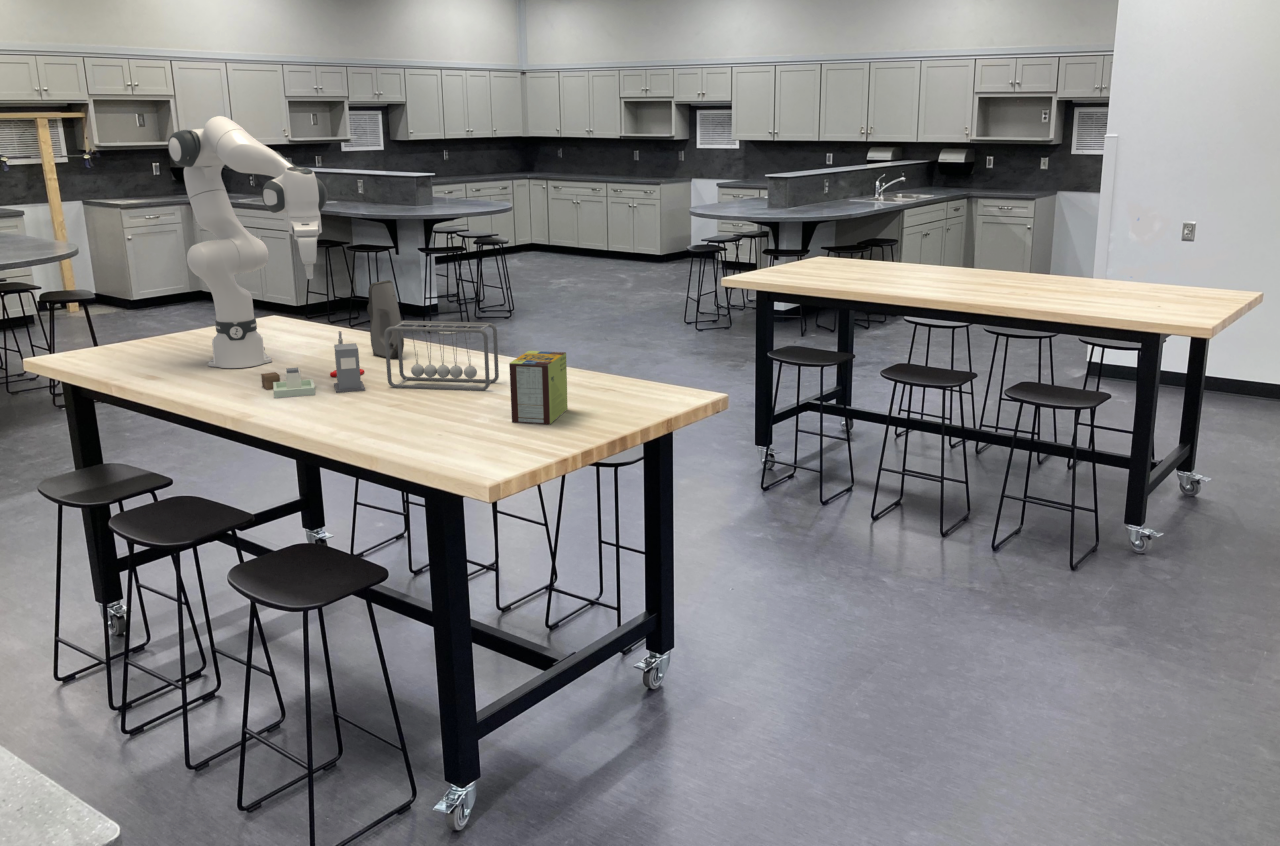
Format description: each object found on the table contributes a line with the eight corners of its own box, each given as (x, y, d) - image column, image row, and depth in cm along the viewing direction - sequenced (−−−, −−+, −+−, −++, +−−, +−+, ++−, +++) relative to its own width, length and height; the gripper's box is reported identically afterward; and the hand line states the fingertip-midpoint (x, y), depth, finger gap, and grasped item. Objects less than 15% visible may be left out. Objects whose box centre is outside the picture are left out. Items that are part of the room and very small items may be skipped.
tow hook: (341, 371, 323) (326, 377, 313) (338, 326, 320) (324, 331, 310) (369, 372, 321) (355, 378, 312) (366, 327, 318) (353, 332, 309)
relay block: (286, 388, 297) (284, 368, 295) (301, 387, 298) (299, 367, 296) (286, 392, 293) (284, 371, 292) (301, 391, 294) (300, 370, 293)
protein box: (568, 409, 277) (566, 351, 273) (550, 425, 262) (548, 364, 258) (530, 407, 279) (528, 350, 275) (510, 422, 265) (508, 362, 260)
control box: (333, 385, 304) (330, 344, 301) (362, 382, 306) (359, 342, 303) (336, 392, 295) (332, 350, 291) (365, 390, 297) (362, 348, 294)
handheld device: (385, 352, 348) (380, 276, 341) (412, 358, 338) (407, 281, 331) (369, 354, 344) (363, 278, 337) (395, 361, 334) (390, 283, 327)
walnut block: (262, 387, 302) (261, 373, 301) (276, 385, 304) (275, 372, 303) (266, 390, 298) (265, 376, 297) (280, 388, 301) (279, 374, 300)
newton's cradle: (499, 383, 306) (497, 322, 301) (489, 391, 296) (486, 329, 291) (400, 379, 310) (396, 320, 305) (387, 388, 300) (383, 326, 295)
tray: (273, 389, 299) (273, 382, 298) (313, 386, 302) (312, 379, 302) (274, 398, 289) (273, 390, 289) (315, 394, 293) (314, 387, 292)
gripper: (292, 224, 302) (296, 272, 305) (294, 230, 283) (298, 281, 287) (315, 223, 304) (319, 271, 307) (318, 229, 285) (322, 280, 289)
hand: (309, 276), depth 297 cm, fingers open, 8 cm apart
